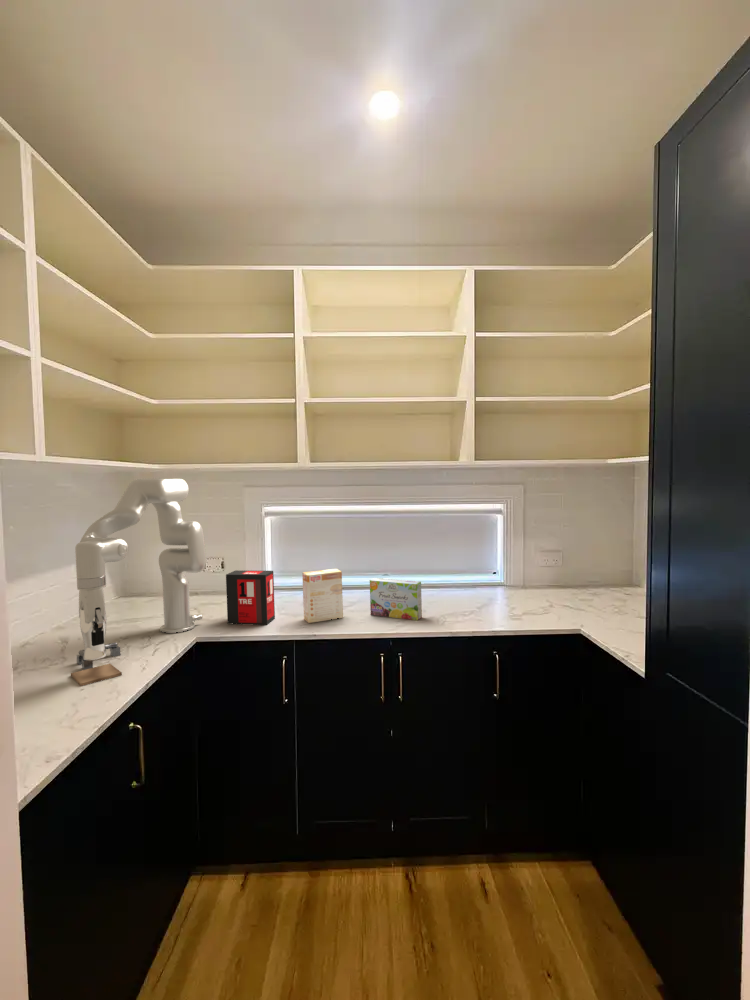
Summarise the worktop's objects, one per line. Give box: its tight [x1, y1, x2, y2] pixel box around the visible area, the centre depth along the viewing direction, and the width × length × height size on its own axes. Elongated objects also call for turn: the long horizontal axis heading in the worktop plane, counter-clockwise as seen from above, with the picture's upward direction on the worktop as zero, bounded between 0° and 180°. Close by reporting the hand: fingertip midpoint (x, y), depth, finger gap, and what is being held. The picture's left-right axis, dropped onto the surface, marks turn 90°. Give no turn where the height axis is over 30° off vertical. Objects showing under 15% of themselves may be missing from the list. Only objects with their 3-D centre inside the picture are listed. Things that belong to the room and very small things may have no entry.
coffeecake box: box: [301, 568, 344, 624], centre depth 209 cm, size 15×7×20 cm, turn 115°
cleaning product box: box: [225, 569, 276, 626], centre depth 208 cm, size 16×9×20 cm, turn 81°
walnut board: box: [70, 663, 123, 687], centre depth 154 cm, size 11×11×1 cm
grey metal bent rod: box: [76, 642, 121, 670], centre depth 166 cm, size 12×8×4 cm
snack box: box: [369, 577, 423, 621], centre depth 210 cm, size 21×6×15 cm, turn 65°
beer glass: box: [79, 609, 108, 661], centre depth 153 cm, size 7×7×15 cm
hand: (94, 641), depth 153 cm, fingers closed on beer glass, 6 cm apart
